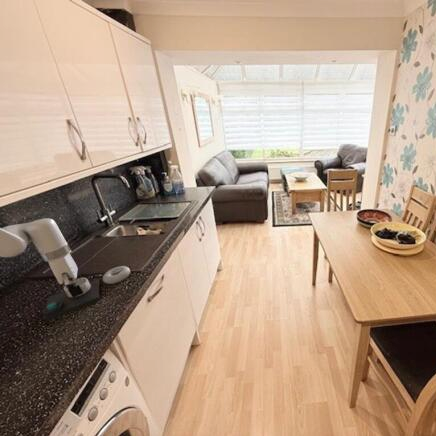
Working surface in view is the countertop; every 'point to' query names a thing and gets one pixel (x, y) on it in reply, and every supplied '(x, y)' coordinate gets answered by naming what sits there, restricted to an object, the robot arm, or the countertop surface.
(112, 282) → the donut
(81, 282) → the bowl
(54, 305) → the tare button
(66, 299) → the scale
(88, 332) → the countertop surface
